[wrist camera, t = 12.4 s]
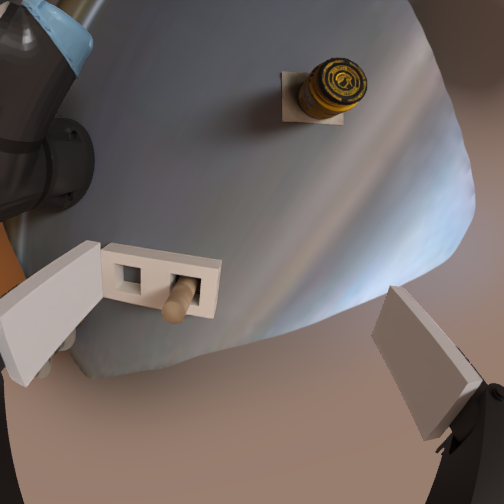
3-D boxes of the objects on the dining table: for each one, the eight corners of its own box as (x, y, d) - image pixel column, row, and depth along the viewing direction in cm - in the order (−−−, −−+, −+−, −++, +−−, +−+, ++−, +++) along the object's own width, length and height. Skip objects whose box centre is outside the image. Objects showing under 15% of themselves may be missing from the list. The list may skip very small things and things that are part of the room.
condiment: (343, 125, 36) (376, 116, 24) (282, 121, 36) (293, 108, 24) (341, 77, 33) (373, 51, 22) (281, 72, 33) (291, 41, 22)
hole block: (112, 287, 44) (103, 297, 41) (110, 242, 42) (100, 249, 38) (216, 306, 45) (213, 318, 42) (221, 260, 42) (218, 269, 39)
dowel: (179, 286, 44) (161, 321, 34) (180, 269, 43) (161, 301, 34) (198, 290, 44) (184, 325, 35) (199, 272, 43) (184, 305, 34)
